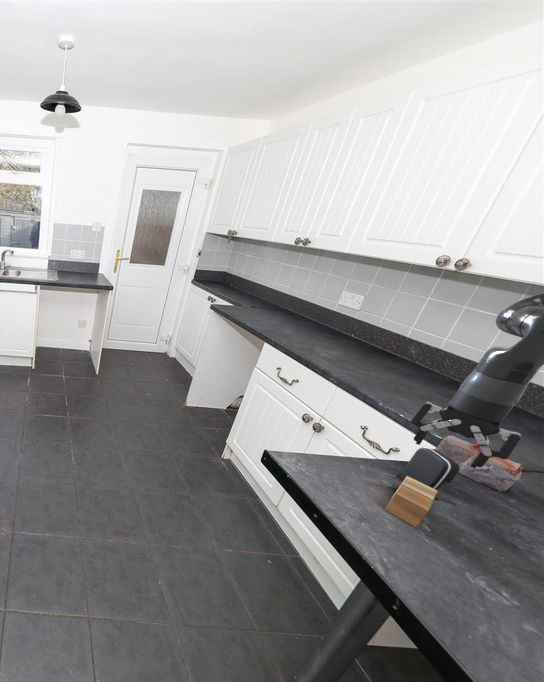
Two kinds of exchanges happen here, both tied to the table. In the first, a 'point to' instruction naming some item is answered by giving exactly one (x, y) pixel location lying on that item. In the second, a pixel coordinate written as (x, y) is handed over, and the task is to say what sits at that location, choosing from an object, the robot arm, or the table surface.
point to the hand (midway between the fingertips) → (443, 454)
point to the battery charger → (430, 468)
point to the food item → (493, 471)
